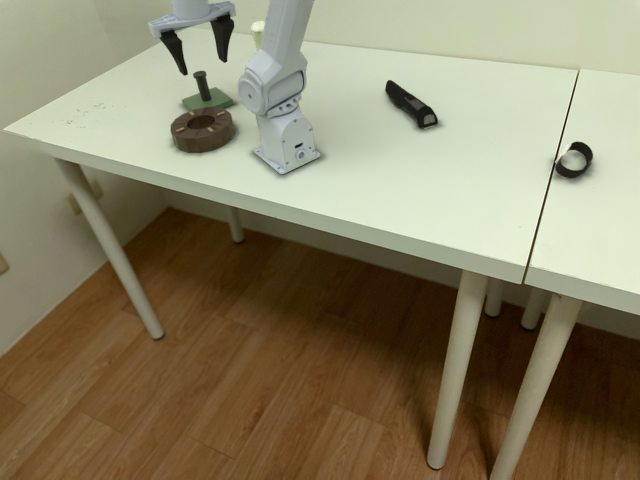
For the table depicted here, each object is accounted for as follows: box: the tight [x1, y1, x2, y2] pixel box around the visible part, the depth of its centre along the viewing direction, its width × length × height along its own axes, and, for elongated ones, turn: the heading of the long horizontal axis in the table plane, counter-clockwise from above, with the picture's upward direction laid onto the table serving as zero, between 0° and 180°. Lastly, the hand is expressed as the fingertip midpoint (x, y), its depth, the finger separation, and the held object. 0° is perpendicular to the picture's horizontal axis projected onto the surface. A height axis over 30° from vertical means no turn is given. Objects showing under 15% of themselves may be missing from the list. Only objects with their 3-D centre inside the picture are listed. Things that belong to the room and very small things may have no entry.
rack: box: [181, 70, 234, 111], centre depth 95 cm, size 8×8×7 cm
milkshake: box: [250, 20, 265, 52], centre depth 107 cm, size 4×5×10 cm
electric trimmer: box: [384, 79, 439, 130], centre depth 87 cm, size 4×16×3 cm, turn 21°
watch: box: [554, 141, 594, 179], centre depth 69 cm, size 8×5×4 cm, turn 140°
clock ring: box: [169, 107, 236, 154], centre depth 87 cm, size 11×11×3 cm
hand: (203, 66), depth 83 cm, fingers open, 7 cm apart
